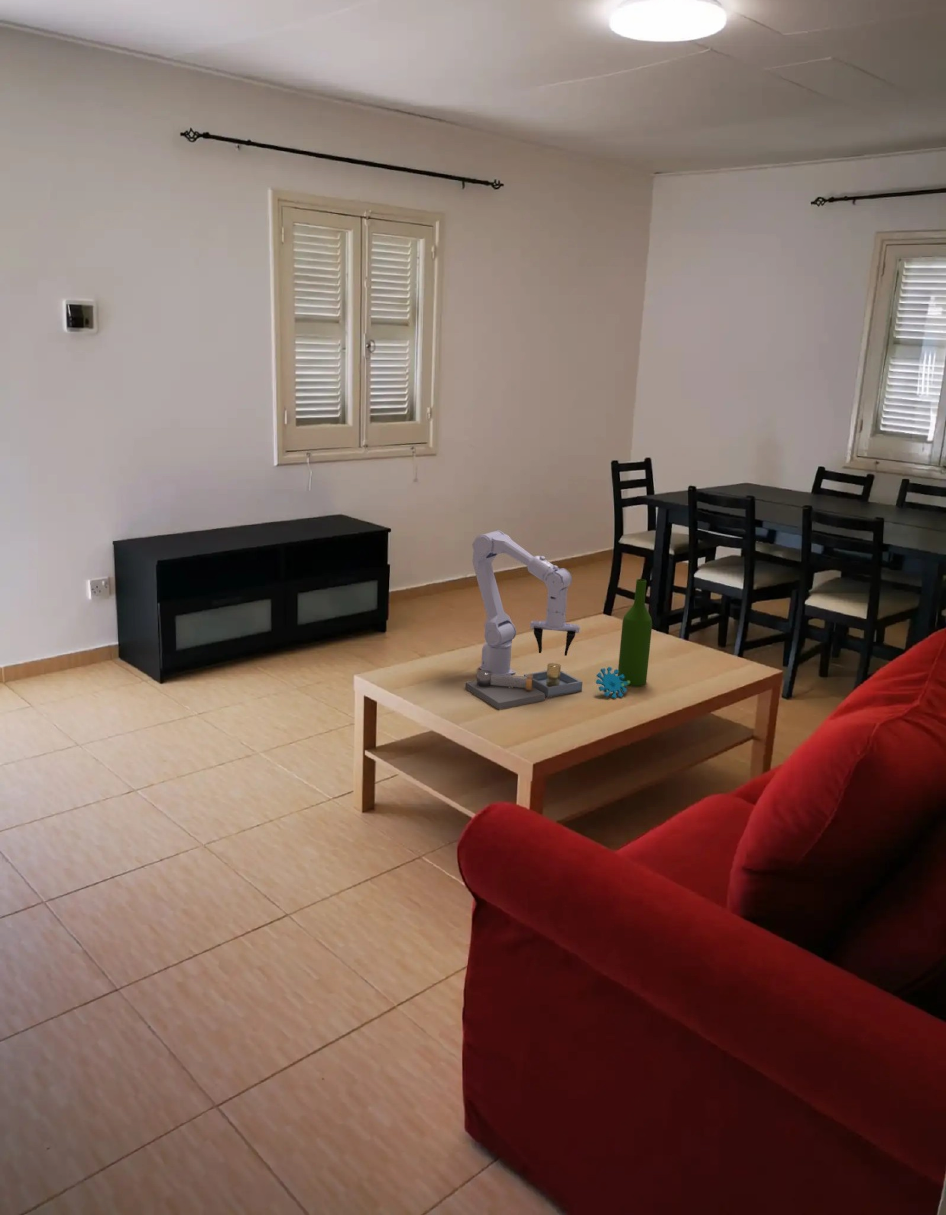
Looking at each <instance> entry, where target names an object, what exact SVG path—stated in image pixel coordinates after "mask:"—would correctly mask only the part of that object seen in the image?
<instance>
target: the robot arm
mask: <svg viewBox="0 0 946 1215" xmlns="http://www.w3.org/2000/svg"><path fill="white" fill-rule="evenodd" d="M471 546H472V549H473V552H472V553H473V554H472V560H471V561H472V566H473V570H474V572H475V577H476V579H477V584H478V588H479V591H480V595H481V596H480V597H481V599H482V603H483V606H484V610H485V614H486V619H485V622H484V624H483V627H484V640H485V643H484V644H483V646H482V648H481V662H480V663H481V665H479V666H478V668H479V669H480V670H489V671H491V672H492V674H503V675H509V674H511V675H515V674H516V671H515V670H513V669H512V668H511V661H512V660H511V658H512V643H513V640H514V639H515V638H516V635H517V629H516V628H517V627H516V626H515V624H514V623H513V621H512V620H511V616H510V615H508V613H506V612H505V610H504V606H503V601H502V600H501V595H500V591H499V586H498V584H497V580H496V577H495V574H494V570H493V565H492V564H493V561H494V560H495V558H496V557H497V555H500V554H506V555H508V556H510V557H511V558H513V559H514V560H516V561H518V562H520V563H521V564H523V565H525V566H526V568H527V571H528V573H530V574H531V575H533V577H534V576H535V577H536V578H537V579H539V580H540V581H541V582H543V583H544V584H545V587H546V589H547V602H546V614H545V620H540V621H539V620H531V622H530V626H529V627H530V630H533V635H534V637H535V640H536V642H537V643H536V644H537V648H538V653H539V654H542V650H543V632H544V630H546V631H557V632H566V638H565V639H566V640H565V641H566V642H565V649H564V655H563V656H565V657H566V656H568V651H569V649H570V647H571V644H572V642H573V640H574V639H575V637H576V634H580V629H581V628H580V627H581V625H580V624H579V625H577V624H573V623H567V622H566V618H567V617H566V616H567V614H566V613H567V602H568V590H569V589H568V587H569V586H570V585H572V582H573V578H572V574H571V573H570V571H569V570H567V569H566V568H565V567H564V568H563V567H562V568H559V566H558V565H556V564H555V565H554V564H552V563H551V562H549V561H548V560H547V559H546V557H545V556H544V555H535V556H534V555H532V554H531V553H529V551H527V550H526V549H524V548H523V547H522V546H520V545H519V544H518V543H516V542H515V541H514V540H512V538H511V537H510V536H509V535H508V534H506V533H504V532H503V531H502V530H494V531H491V532H487V533H482V534H479V535H477V536H476V538H475V539H474V540H473V542H472V544H471Z"/></svg>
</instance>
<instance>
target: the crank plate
mask: <svg viewBox="0 0 946 1215" xmlns="http://www.w3.org/2000/svg"><path fill="white" fill-rule="evenodd" d="M509 675H512V674H509ZM465 689H466V690H467V691H469V692H470V693H472V694H474V695H475V696H476V697H478V698H480V699H481V700H483V701H484V702H485V703H487V704H489V705H491V706H492V707H494V708H495V709H497V710H505V709H508V708H514V707H519V706H523V705H529V704H533V703H539V702H545V700H546V697H545V694H544V693H542V692H541V691H539V690H537V689H535V688H534V687H532V688H531V690H526V688H522V687H510V686H499V685H490V686H480V685H478V684H477V679H475V680H470V681H466V682H465Z"/></svg>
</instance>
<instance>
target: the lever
mask: <svg viewBox="0 0 946 1215" xmlns="http://www.w3.org/2000/svg"><path fill="white" fill-rule="evenodd" d="M476 677H477V678H476V680H477V684H478V685H480V686H490V685H499V686H510V688H511V687H522V688H526V690H531V688H532V682H533V675H527V677H526V676H524V675H515V674H511V675H503V674H492V672H491V671H489V670H482V669H480V670H477V676H476Z"/></svg>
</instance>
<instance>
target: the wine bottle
mask: <svg viewBox="0 0 946 1215" xmlns="http://www.w3.org/2000/svg"><path fill="white" fill-rule="evenodd" d="M646 589H647V580H646V579H643V578H638V579H636V582H635V592H634V600H633V603H632V606H631V607H630V608H629V609H628V610H627V611H626V613H625V615H624V616H623V618H622V623H621V624H622V625H621V634H620V644H619V645H620V647H619V654H618V656H619V657H618V666H617V670H618V671H619V673H618V674H617V676H620V675H622V674H623V675H624V677H625V678H624V679H620V678H619V679H620V680H621V681H626V682H627V681H628V680H629V681H630V684H629V685H627V686H626V687H634V688H635V687H638V688H639V687H643V686H645V685H646V683H647V680H648V678H647V677H648V668H649V661H650V660H649V657H650V648H651V638H652V631H653V630H652V629H653V621H652V616H651V615H650V613H649V611H648V609H647V607H646V605H645V603H646V602H645V601H646Z"/></svg>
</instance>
